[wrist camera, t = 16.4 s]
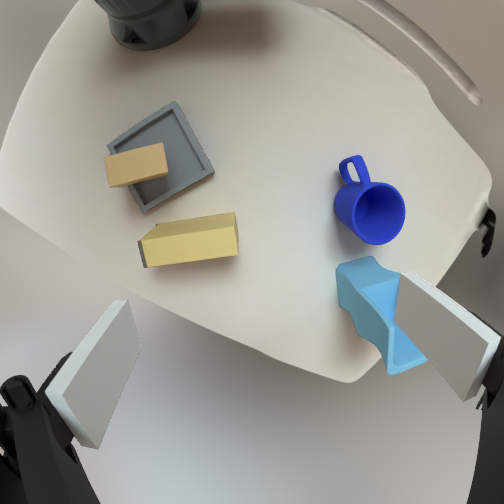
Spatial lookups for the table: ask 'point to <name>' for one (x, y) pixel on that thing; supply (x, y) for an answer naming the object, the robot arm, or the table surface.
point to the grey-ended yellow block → (190, 240)
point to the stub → (136, 165)
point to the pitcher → (376, 311)
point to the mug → (369, 205)
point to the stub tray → (176, 152)
